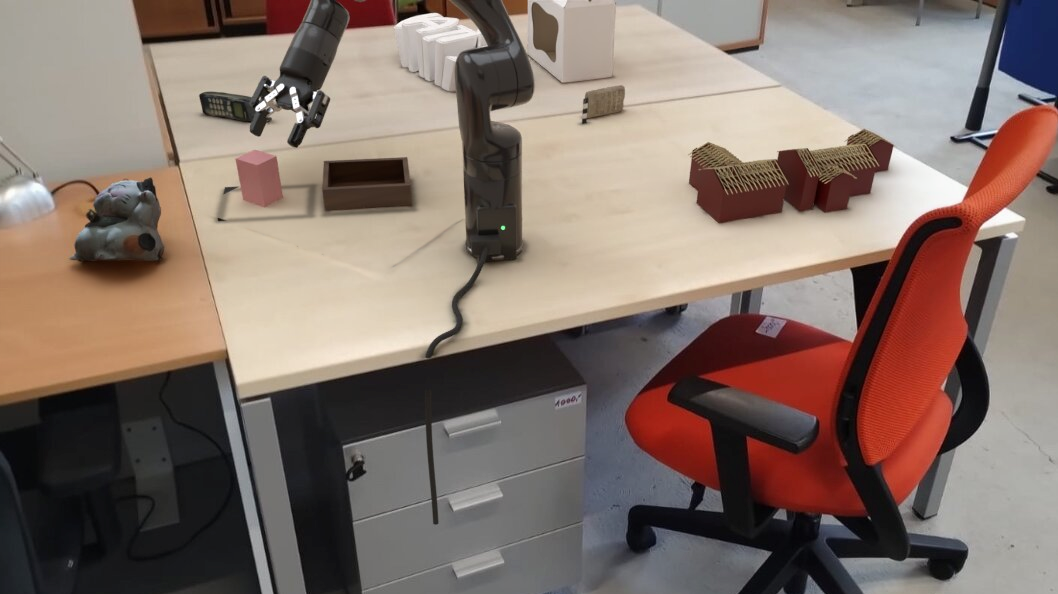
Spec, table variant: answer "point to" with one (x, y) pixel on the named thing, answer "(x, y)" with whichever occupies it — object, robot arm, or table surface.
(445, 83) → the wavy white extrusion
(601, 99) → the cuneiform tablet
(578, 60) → the gable box
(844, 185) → the toy houses
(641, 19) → the table surface
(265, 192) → the block
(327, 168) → the crate
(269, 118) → the mobile phone
